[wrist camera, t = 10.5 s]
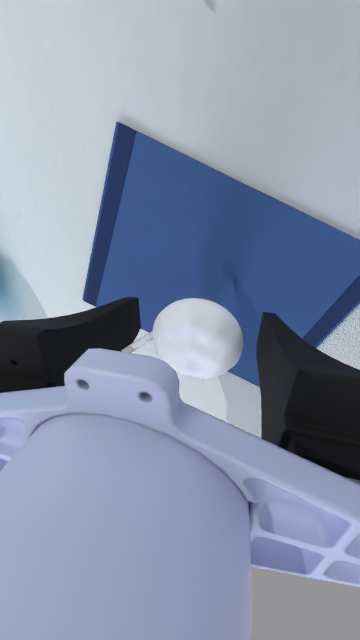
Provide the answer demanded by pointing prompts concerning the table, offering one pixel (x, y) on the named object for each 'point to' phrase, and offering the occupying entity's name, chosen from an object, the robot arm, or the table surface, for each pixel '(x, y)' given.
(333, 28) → the table surface
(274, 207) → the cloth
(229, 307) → the milkshake
